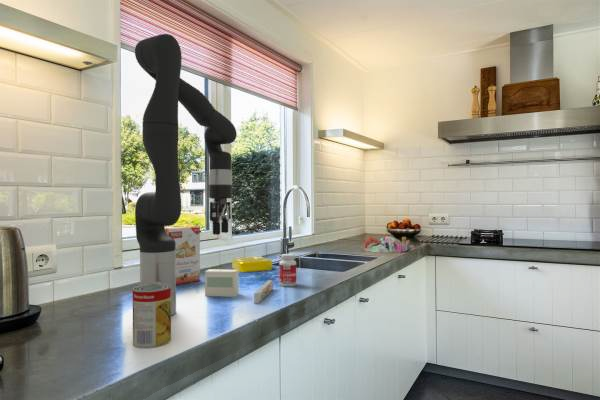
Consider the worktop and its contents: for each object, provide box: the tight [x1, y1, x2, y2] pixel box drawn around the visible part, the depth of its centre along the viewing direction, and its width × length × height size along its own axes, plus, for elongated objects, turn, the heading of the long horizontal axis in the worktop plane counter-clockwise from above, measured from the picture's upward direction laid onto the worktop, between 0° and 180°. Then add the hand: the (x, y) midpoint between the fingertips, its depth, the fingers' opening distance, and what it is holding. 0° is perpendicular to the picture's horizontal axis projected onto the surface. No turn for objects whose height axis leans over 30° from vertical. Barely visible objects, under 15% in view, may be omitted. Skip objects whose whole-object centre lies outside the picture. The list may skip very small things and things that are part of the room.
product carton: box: [204, 268, 240, 298], centre depth 135 cm, size 4×10×8 cm, turn 82°
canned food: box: [132, 283, 172, 349], centre depth 91 cm, size 8×8×12 cm
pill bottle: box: [278, 253, 297, 287], centre depth 150 cm, size 6×6×11 cm
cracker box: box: [165, 225, 201, 285], centre depth 156 cm, size 14×6×21 cm, turn 141°
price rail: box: [253, 279, 274, 304], centre depth 133 cm, size 20×2×3 cm, turn 172°
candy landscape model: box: [363, 235, 411, 253], centre depth 246 cm, size 25×24×9 cm
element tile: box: [231, 256, 273, 273], centre depth 186 cm, size 15×15×5 cm
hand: (220, 233), depth 135 cm, fingers open, 8 cm apart
